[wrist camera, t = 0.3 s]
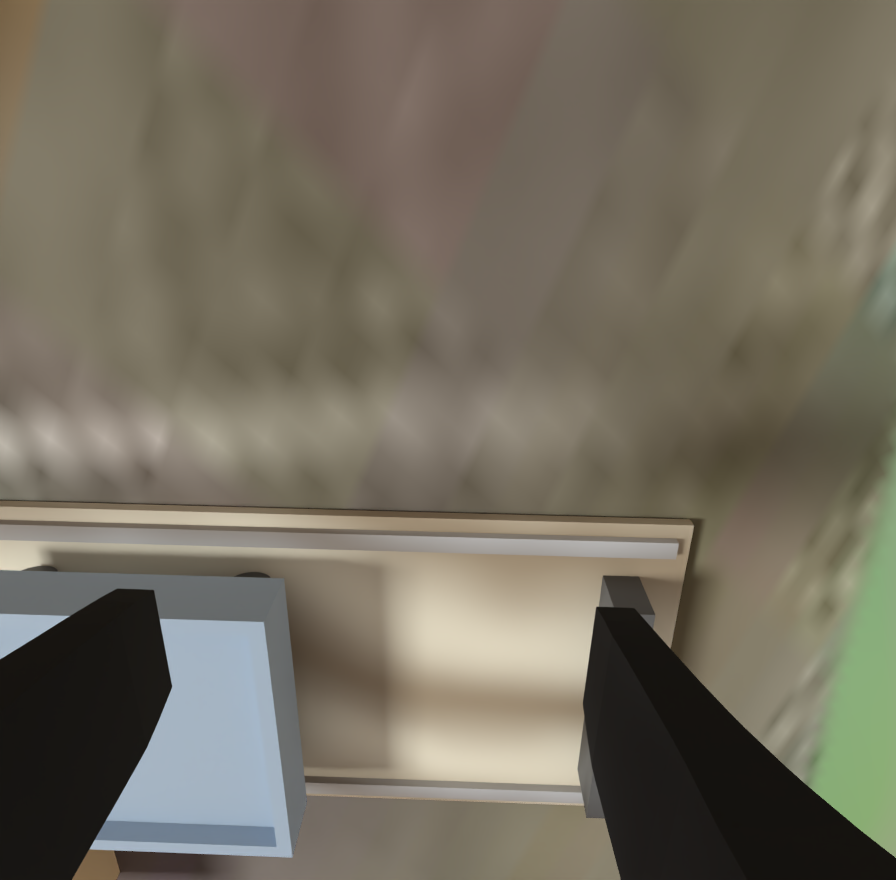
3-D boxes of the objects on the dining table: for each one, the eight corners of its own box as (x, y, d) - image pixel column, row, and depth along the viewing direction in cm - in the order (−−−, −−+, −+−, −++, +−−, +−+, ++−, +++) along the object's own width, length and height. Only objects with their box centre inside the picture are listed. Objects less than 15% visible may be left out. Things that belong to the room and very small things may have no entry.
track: (637, 798, 25) (654, 857, 23) (32, 776, 26) (-8, 831, 24) (690, 519, 20) (717, 560, 18) (-61, 498, 21) (-123, 536, 19)
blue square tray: (314, 771, 25) (292, 857, 21) (65, 762, 25) (7, 846, 22) (294, 555, 21) (263, 621, 18) (-1, 546, 21) (-83, 610, 18)
